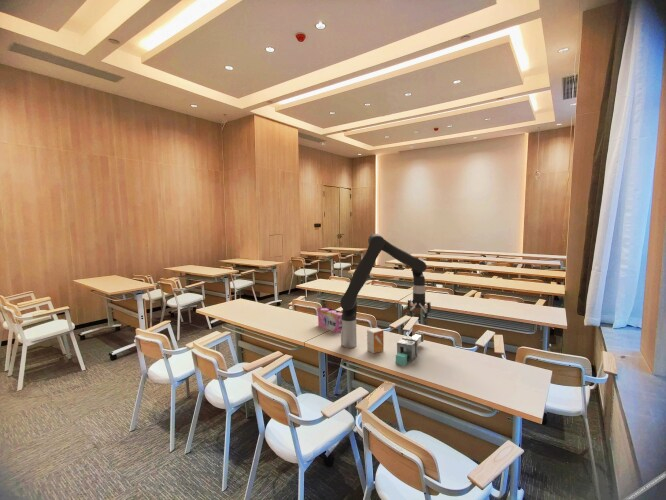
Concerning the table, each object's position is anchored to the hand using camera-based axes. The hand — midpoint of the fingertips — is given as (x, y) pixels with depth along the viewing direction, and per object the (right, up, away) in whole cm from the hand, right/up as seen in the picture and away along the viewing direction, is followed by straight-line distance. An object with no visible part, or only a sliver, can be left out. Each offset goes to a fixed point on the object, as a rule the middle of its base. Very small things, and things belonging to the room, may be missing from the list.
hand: (418, 317), depth 194 cm
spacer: (-15, -18, -22) cm, 32 cm away
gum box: (-56, -17, +38) cm, 70 cm away
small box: (-28, -20, -6) cm, 35 cm away
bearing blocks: (-11, -20, -16) cm, 28 cm away
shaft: (-6, -16, -8) cm, 19 cm away
